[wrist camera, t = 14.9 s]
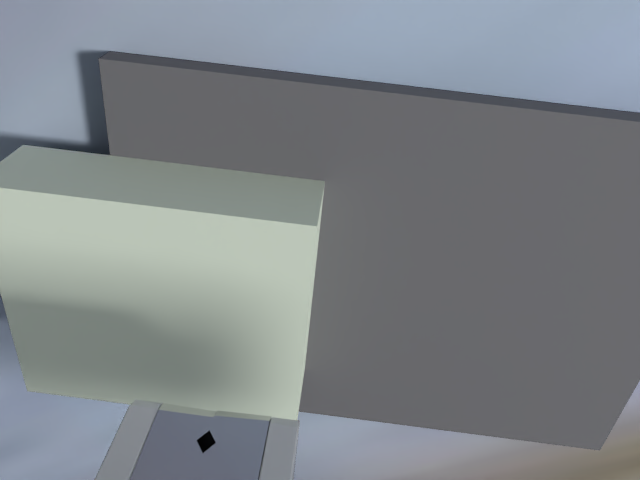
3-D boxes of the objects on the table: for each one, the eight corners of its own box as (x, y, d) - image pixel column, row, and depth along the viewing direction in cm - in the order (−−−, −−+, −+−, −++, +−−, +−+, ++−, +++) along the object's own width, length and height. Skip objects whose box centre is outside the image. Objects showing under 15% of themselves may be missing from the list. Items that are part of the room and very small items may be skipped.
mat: (760, 127, 12) (777, 138, 11) (593, 433, 17) (599, 450, 17) (109, 51, 12) (98, 58, 12) (145, 376, 18) (138, 390, 17)
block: (316, 226, 11) (-30, 184, 11) (296, 426, 14) (27, 391, 15) (324, 181, 13) (22, 144, 13) (304, 369, 16) (63, 338, 16)
